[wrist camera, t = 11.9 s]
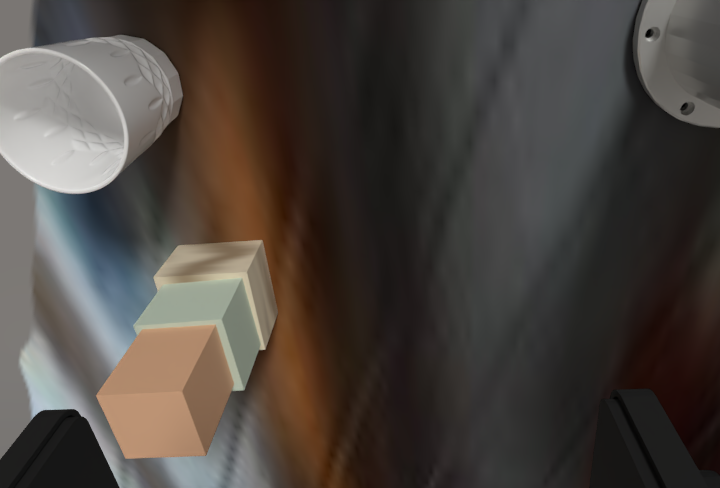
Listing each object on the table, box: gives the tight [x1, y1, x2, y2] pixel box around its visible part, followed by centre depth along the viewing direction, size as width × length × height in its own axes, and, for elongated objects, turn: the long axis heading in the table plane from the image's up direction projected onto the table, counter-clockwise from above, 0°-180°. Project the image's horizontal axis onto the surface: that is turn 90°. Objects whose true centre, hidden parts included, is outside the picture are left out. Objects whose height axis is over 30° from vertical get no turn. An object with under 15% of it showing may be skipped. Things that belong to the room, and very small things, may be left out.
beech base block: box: [153, 240, 278, 350], centre depth 43 cm, size 7×7×5 cm
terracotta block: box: [96, 324, 234, 459], centre depth 33 cm, size 5×5×6 cm
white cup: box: [0, 35, 183, 194], centre depth 33 cm, size 8×8×10 cm
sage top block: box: [133, 278, 261, 391], centre depth 38 cm, size 6×6×5 cm
